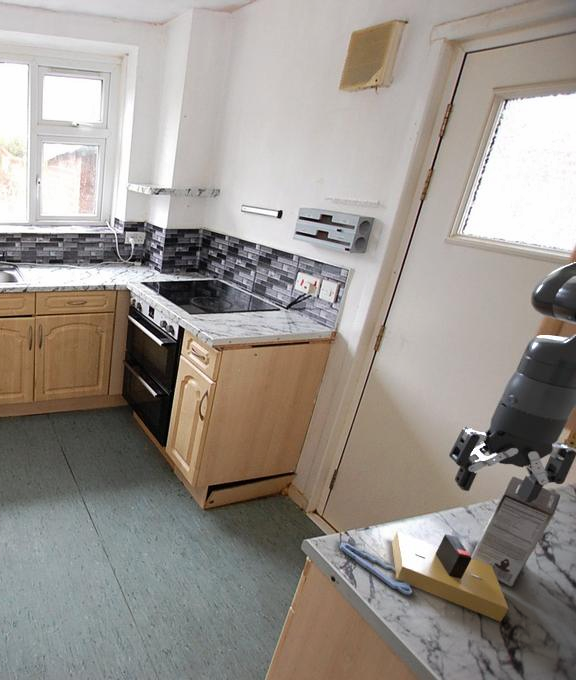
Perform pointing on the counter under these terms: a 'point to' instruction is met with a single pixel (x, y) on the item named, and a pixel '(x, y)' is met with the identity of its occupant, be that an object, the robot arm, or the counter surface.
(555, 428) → the robot arm
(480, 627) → the counter surface
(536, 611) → the counter surface
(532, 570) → the counter surface
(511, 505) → the coffee box
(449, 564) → the lock knob
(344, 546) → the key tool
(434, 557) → the tan flat wooden block
